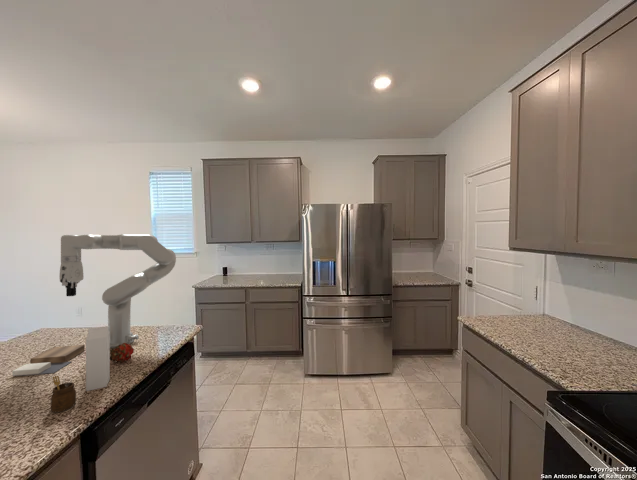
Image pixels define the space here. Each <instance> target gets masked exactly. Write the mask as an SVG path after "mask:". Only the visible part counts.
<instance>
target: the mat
mask: <svg viewBox="0 0 637 480" xmlns="http://www.w3.org/2000/svg"><path fill="white" fill-rule="evenodd" d="M71 363H72V361H67V362H59V363H51V367H50V368H48V369H46V370H44V371H43V372H41V373H39V374H30V375H21V376H22V377H27V376H28V377H29V376H37V375H48V374H49V375H51V374H55V373H58V371H60V370H62V369H63V368H65V367H66V366H68V365H69V364H71Z"/></svg>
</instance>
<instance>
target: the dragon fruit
mask: <svg viewBox="0 0 637 480" xmlns="http://www.w3.org/2000/svg"><path fill="white" fill-rule="evenodd" d="M134 351H135V349H134V347H133V346H132V345H131V344H127V343H123V344H122V345H118V346H117V347H115V348H111V350H110V361H112V362H115V363H117V364H123V363H124V362H125V361H129V360H131V359H132V355H133V354H134Z"/></svg>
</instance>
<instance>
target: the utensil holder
mask: <svg viewBox="0 0 637 480" xmlns="http://www.w3.org/2000/svg"><path fill="white" fill-rule="evenodd" d="M66 373H68V374H66ZM66 373H64V376H63V381H62V382H63V383H61V380H60V377H59V375H57V376H56V375H55V376H54V375H53V376H52V380H53V384H54V385H55V386H54V387H53V388H52V392H51V393H52V394H51V396H50V411H51V413H55V414H56V413H61V412H65V411H68V410H70V409H72V408H73V407H74V406H75V404H76V401H77V396H76V395H77V392H76V388H75V383H74V382H72V380H73V379H70V380H67V378H66V377H71V371H69V370H67V371H66ZM66 375H67V376H66ZM68 375H69V376H68Z"/></svg>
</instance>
